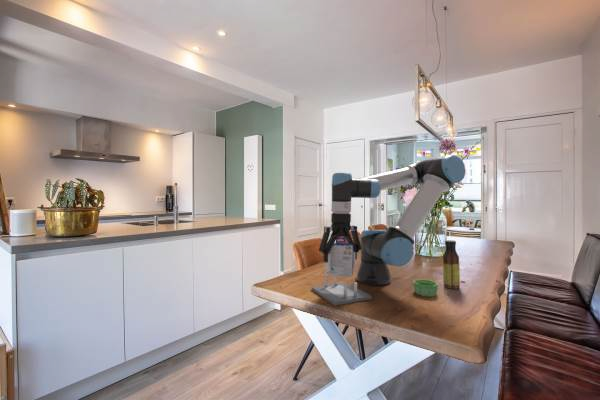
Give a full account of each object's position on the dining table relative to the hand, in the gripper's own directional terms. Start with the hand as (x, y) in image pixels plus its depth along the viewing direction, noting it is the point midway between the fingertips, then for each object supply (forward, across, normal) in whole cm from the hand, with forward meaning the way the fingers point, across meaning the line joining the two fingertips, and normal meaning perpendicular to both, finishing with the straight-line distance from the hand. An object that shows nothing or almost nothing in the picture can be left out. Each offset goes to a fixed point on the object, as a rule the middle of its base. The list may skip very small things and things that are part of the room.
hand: (340, 269), depth 111 cm
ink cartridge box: (+2, 0, 0) cm, 2 cm away
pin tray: (+10, 0, 0) cm, 10 cm away
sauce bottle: (+10, +48, -11) cm, 50 cm away
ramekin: (+10, +32, -12) cm, 36 cm away
